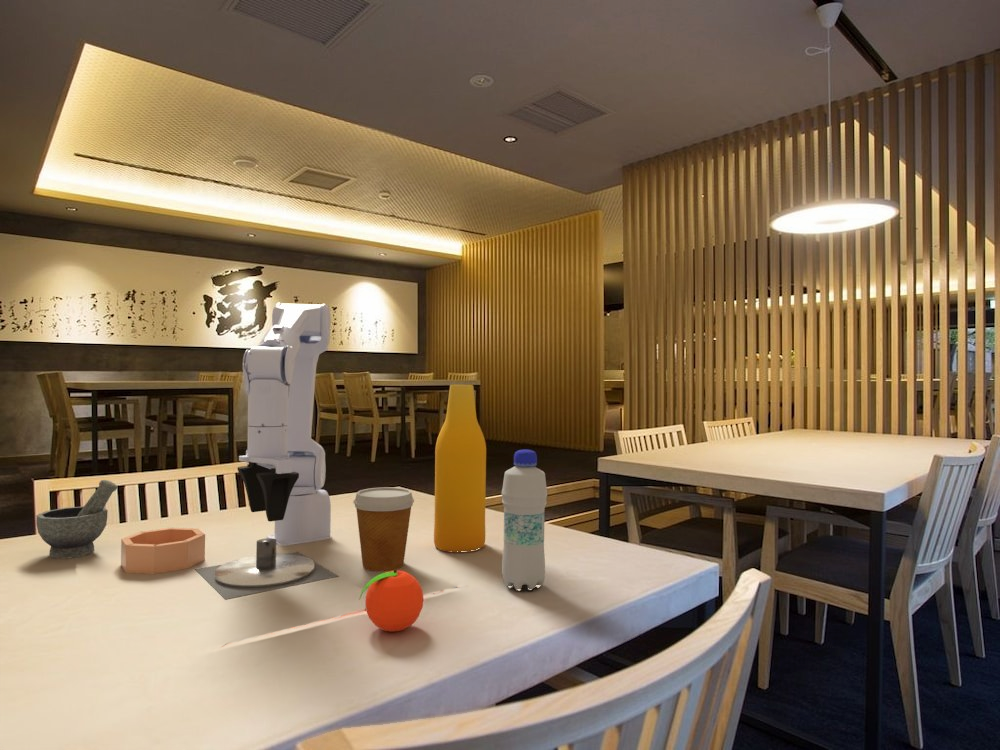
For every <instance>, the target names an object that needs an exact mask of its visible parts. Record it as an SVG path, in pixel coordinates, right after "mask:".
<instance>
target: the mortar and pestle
mask: <svg viewBox="0 0 1000 750" xmlns="http://www.w3.org/2000/svg"><path fill="white" fill-rule="evenodd" d="M117 489H118V485H117V484H116V483H115V482H112V481H110V480H107V479H103V480H102V479H101V480H100V482H99V483H98V487H97V488H96V490H95V492H94V493H93V494H92V495H91V496H90V498H89V499H88V500H87V502H86V503H85V505H84V506H70V507H63V508H57V509H56V508H55V509H51V510H50V509H49V510H46V511H44V512H41V513H38V514H36V528H37V533H38V534H39V536H40V538H41V540H43V542H44V543H46V544H47V545H49V546H50V549H49V554H48V555H50V556H51V557H52V558H51V557H50V556H49V557H50V558H51V559H59V558H65V559H69V558H68V557H74V558H79V556H80V557H84V556H87V555H86V554H88V555H90V554H92V553H93V551H94V552H95V544H94V541H96V539H98V538H99V537H100V536H101V535H102V533H103V531H104V530H105V528H106V526H107V521H108V509H107V508H105V507H106V505H107V503H108V501H109V500H110V498H111V496H112V494H113V493H114V492H116V491H117ZM91 552H92V553H91ZM89 553H90V554H89ZM83 555H84V556H83Z"/></svg>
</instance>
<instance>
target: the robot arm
mask: <svg viewBox="0 0 1000 750" xmlns="http://www.w3.org/2000/svg"><path fill="white" fill-rule="evenodd" d="M271 314H272V316H271V318H272V319H271V323H272V327H270V328H269V329H268V330H267V331H266V333H265V334H264V336H263V337H262V339H261V341H260V342H259V343H258V345H257V346H256V345H255V346H251V348H250V349H246V350H245V352H244V353H243V358H242V374H243V381H244V392H245V395H246V396H247V448H246V450H245V455H239V456H238V461H239V462H245V463H247V465H244V466H238V467H236V468H237V472H238V474H239V475H240V477H241V479H242V481H243V484H244V487H245V491H246V495H247V500H248V505H249V509H250V512H252V513H256V512H257V513H258V512H265V514H266V519H267V521H268V522H274V534H271V535H270V534H269V535H267V536H266V538H272V539H276V545H278V546H280V547H286V546H287V547H288V546H294V545H299V544H304V543H311V542H312V543H313V542H318V541H322V540H323V541H324V540H328V539H333V537H332V536H331V522H332V521H331V513H332V512H331V509H332V508H331V507H332V506H331V498H330V495H329V493H328V491H327V490H325V489H322V488H323V487H324V485H325V482H326V474H327V473H326V471H327V469H326V467H327V466H326V465H327V464H326V451H325V449H324V447H323V446H322V445H321V444H320V443H319V442H316V441H315V440H314V439H312V431H313V430H312V427H313V415H314V414H313V413H314V403H315V402H314V400H315V388H316V375H317V364H318V361H319V356H320V355H321V354H322V353H324V352H326V351H328V349H329V344H330V338H331V336H330V335H331V309H330V307H329V306H328V305H327V304H326V303H322V304H316V303H312V304H311V303H284V302H283V303H282V302H277V303H276V304H275V305H274V306H273V308H272V313H271Z"/></svg>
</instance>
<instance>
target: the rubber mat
mask: <svg viewBox="0 0 1000 750" xmlns="http://www.w3.org/2000/svg"><path fill="white" fill-rule="evenodd" d="M286 554H290V555H299V556H304V557H307V556H306V555H305V554H303V553H301V552H299V551H294V552H293V551H292V552H288V553H286ZM307 558H309V557H307ZM313 562H314V571H313V573H312V574H311V575H309V576H308V577H306V578H304V579H302V580H299V581H296V582H293V583H289V584H285V585H280V586H274V587H266V588H235V587H229V586H225V585H222V584H219V583H218V582H217V581H216V580H215V571H216V569H217V568H218V567H220V566H221V565H222V564H218V565H212V566H207V567H200V568H195V569H194V570H195V571H196V572H197V573H198V574H199V575H200V577H202V578H203V579H204V580H205V581H206V582H207V583H208V584H209V585H210V586H211V587H212V588H213V589H214V590H215V591H216V593H218V594H219V595H220V596H221V597H222V599H224V600H225V601H227V600H231V599H235V598H240V597H244V596H245V597H246V596H250V595H255V594H259V593H261V594H262V593H265V592H269V591H274V590H280V589H284V588H285V589H286V588H289V587H294V586H299V585H304V584H308V583H313V582H318V581H324V580H328V579H332V578H338V577H339V575H338V574H336V573H334V572H333V571H331V570H330V569H328V568H327V567H324V566H323V565H321V564H319V563H318V562H316V561H315V560H313Z"/></svg>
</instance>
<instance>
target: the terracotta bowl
mask: <svg viewBox="0 0 1000 750" xmlns="http://www.w3.org/2000/svg"><path fill="white" fill-rule="evenodd" d="M120 540H121V541H120V543H121V545H120V549H121V550H120V565H121V568H123V570H124V572H125V573H127V574H128V573H130V574H131V573H132V574H150V575H151V574H153V575H155V574H162V573H167V572H172V571H179V570H184V569H189V568H191V567H193V566H194V565H197V564H198V563H201V562H203V561H204V560H205V559H206V557H205V556H206V534H205V533H204V532H203V531H202V530H201V529H199V528H193V527H192V528H190V527H189V528H187V527H168V528H160V529H152V530H150V529H149V530H144V531H139V532H137V533H134V534H131V535H128V536H125V537H122V538H121V539H120Z"/></svg>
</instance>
